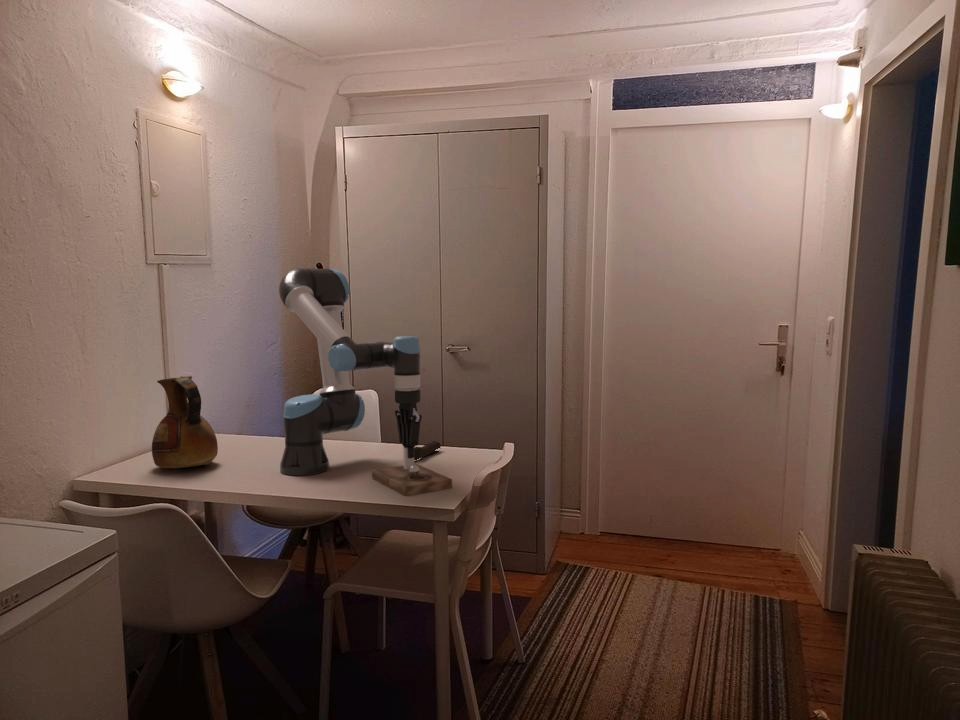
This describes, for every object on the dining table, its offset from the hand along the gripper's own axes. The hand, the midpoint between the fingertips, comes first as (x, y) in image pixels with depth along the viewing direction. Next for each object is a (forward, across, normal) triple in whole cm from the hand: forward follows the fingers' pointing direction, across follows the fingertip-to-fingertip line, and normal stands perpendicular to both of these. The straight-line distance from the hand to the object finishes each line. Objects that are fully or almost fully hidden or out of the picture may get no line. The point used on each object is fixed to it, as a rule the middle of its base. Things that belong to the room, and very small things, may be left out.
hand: (409, 468), depth 205 cm
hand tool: (+4, +26, -19) cm, 33 cm away
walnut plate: (+4, -1, 0) cm, 4 cm away
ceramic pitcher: (+4, +57, +52) cm, 77 cm away
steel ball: (0, -3, 0) cm, 3 cm away
